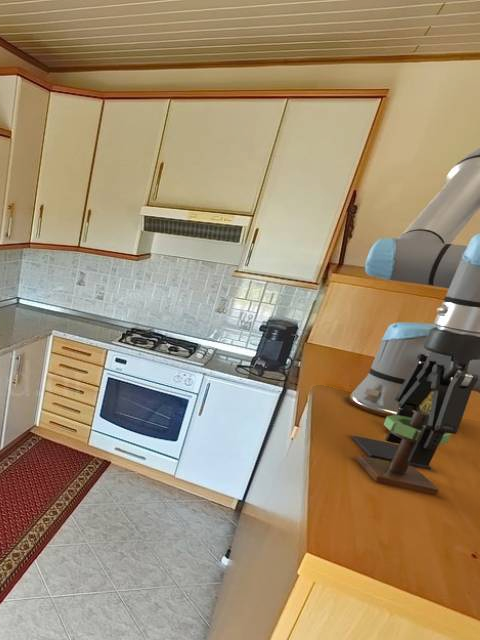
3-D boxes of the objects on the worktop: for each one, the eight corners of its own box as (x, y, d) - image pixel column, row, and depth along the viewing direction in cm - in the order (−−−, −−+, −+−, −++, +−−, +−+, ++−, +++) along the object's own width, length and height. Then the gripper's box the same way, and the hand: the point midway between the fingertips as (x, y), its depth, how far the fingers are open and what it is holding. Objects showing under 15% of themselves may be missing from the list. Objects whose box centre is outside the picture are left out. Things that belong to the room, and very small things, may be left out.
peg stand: (356, 460, 95) (382, 399, 91) (411, 472, 93) (441, 409, 88) (375, 481, 87) (405, 416, 83) (436, 495, 85) (470, 428, 80)
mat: (352, 437, 107) (352, 435, 106) (406, 448, 104) (407, 446, 103) (370, 456, 98) (371, 454, 97) (430, 469, 95) (431, 467, 95)
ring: (377, 419, 92) (380, 411, 91) (430, 429, 90) (434, 421, 89) (397, 436, 84) (400, 428, 84) (456, 448, 82) (460, 440, 82)
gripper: (404, 316, 91) (359, 425, 99) (471, 340, 72) (408, 473, 80) (453, 323, 89) (403, 434, 97) (535, 350, 70) (464, 486, 78)
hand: (405, 452), depth 88 cm, fingers closed on ring, 8 cm apart
